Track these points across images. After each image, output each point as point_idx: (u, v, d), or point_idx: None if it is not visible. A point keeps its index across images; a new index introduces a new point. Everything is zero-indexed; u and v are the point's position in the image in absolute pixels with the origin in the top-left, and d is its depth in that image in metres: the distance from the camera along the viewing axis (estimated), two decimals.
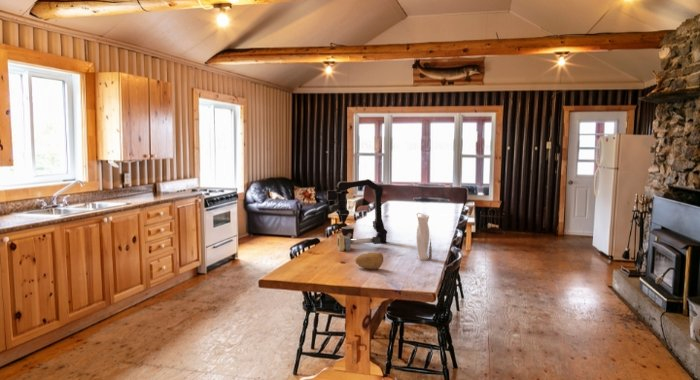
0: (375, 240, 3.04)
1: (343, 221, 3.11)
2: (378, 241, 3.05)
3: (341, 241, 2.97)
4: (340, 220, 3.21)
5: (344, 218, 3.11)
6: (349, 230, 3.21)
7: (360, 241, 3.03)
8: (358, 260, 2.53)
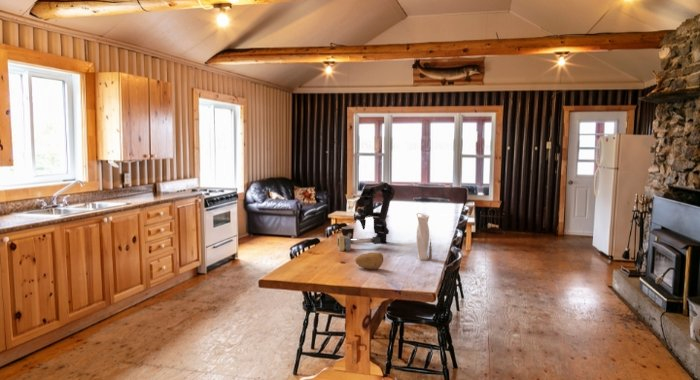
0: (375, 240, 3.04)
1: (362, 226, 3.07)
2: (378, 241, 3.05)
3: (341, 241, 2.97)
4: (374, 226, 3.13)
5: (362, 223, 3.06)
6: (349, 230, 3.21)
7: (360, 241, 3.03)
8: (358, 260, 2.53)
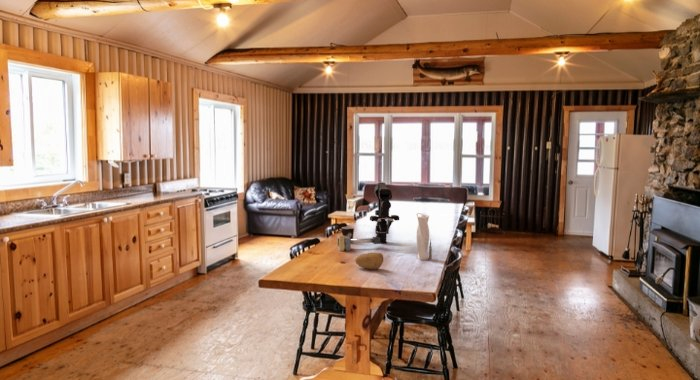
0: (375, 240, 3.04)
1: (380, 228, 3.06)
2: (378, 241, 3.05)
3: (341, 241, 2.97)
4: (387, 229, 3.08)
5: (379, 225, 3.06)
6: (349, 230, 3.21)
7: (360, 241, 3.03)
8: (358, 260, 2.53)
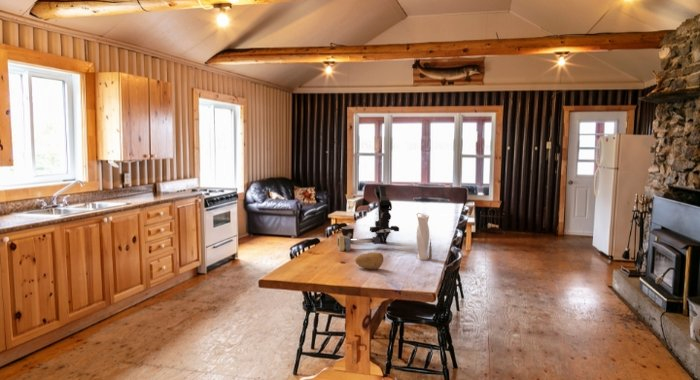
0: (375, 240, 3.04)
1: (382, 239, 3.08)
2: (378, 241, 3.05)
3: (341, 241, 2.97)
4: None
5: (382, 236, 3.07)
6: (349, 230, 3.21)
7: (360, 241, 3.03)
8: (358, 260, 2.53)
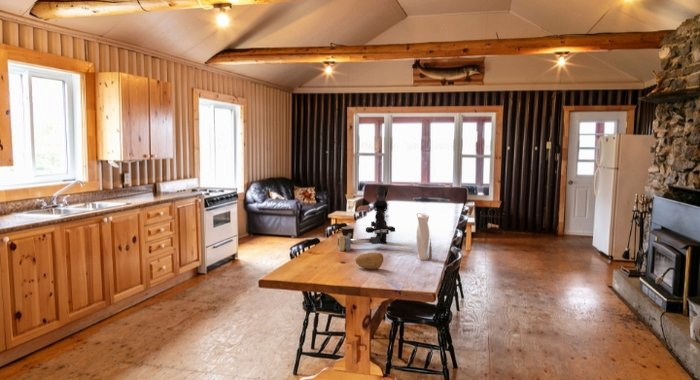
0: (373, 240, 3.04)
1: (378, 239, 3.07)
2: (376, 242, 3.05)
3: (341, 241, 2.97)
4: None
5: (378, 236, 3.06)
6: (349, 230, 3.21)
7: (358, 241, 3.02)
8: (358, 260, 2.53)
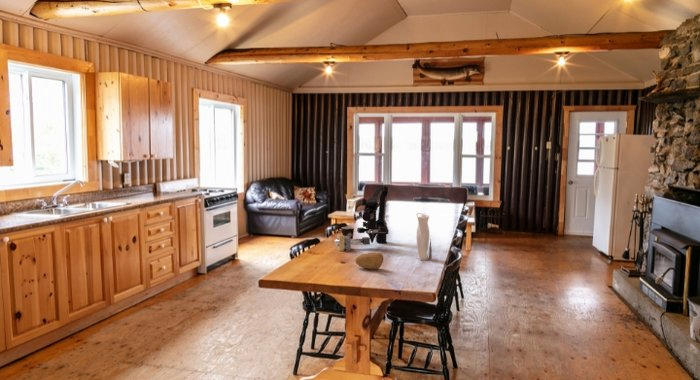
0: (365, 240, 3.03)
1: (370, 239, 3.06)
2: (368, 242, 3.03)
3: (341, 241, 2.97)
4: None
5: (370, 237, 3.05)
6: (349, 230, 3.21)
7: None
8: (358, 260, 2.53)
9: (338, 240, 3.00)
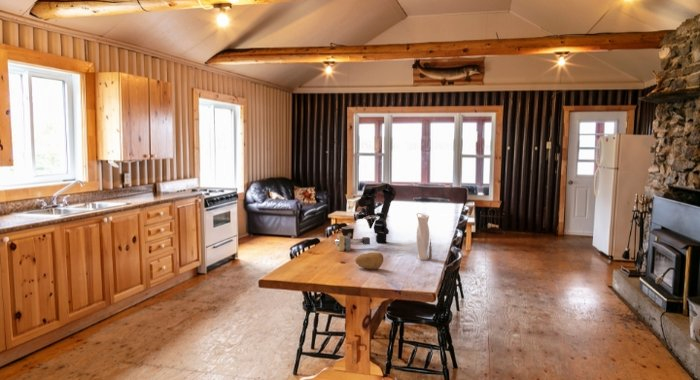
0: (365, 240, 3.03)
1: (369, 225, 3.12)
2: (368, 242, 3.03)
3: (341, 241, 2.97)
4: None
5: (368, 222, 3.11)
6: (349, 230, 3.21)
7: None
8: (358, 260, 2.53)
9: (338, 240, 3.00)
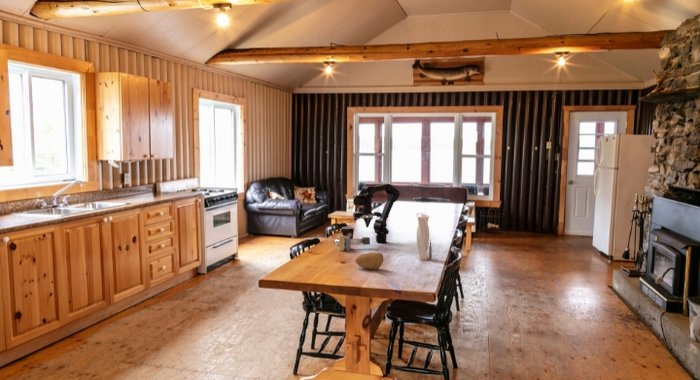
0: (365, 240, 3.03)
1: None
2: (368, 242, 3.03)
3: (341, 241, 2.97)
4: None
5: (365, 221, 3.13)
6: (349, 230, 3.21)
7: None
8: (358, 260, 2.53)
9: (338, 240, 3.00)
